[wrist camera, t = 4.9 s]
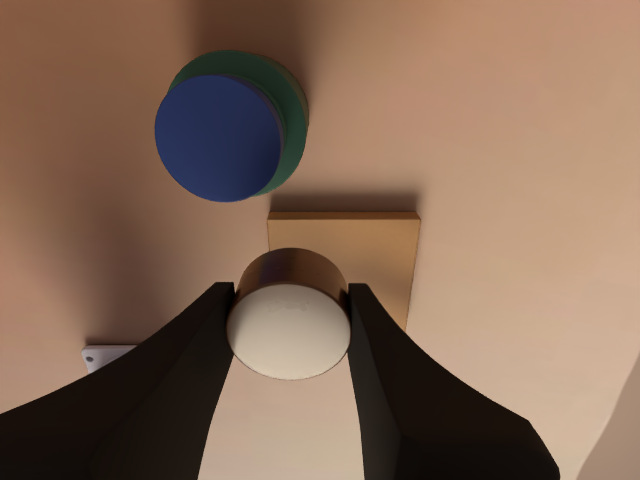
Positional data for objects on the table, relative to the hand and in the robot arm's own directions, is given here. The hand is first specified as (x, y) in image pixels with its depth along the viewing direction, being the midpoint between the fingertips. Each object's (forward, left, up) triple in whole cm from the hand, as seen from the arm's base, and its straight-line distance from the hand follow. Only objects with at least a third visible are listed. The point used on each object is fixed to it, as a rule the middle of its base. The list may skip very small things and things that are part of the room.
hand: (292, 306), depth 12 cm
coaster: (-5, -2, -10) cm, 11 cm away
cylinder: (0, 0, -1) cm, 1 cm away
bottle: (+5, +3, -10) cm, 11 cm away
